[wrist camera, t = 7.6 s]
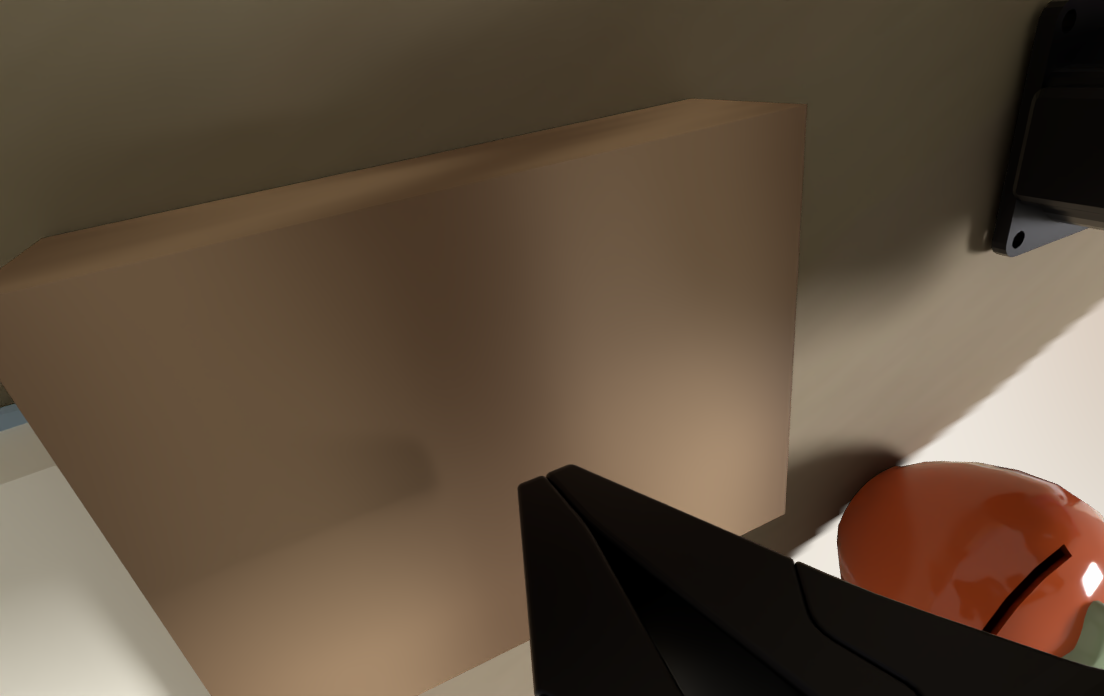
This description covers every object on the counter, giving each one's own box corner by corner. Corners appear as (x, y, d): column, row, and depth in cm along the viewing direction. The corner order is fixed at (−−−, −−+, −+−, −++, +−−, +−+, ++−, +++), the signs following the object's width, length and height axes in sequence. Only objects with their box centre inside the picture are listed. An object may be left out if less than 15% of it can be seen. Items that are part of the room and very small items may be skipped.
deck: (690, 98, 12) (807, 104, 9) (701, 443, 16) (785, 513, 13) (42, 238, 8) (-51, 305, 6) (262, 631, 12) (262, 771, 10)
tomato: (907, 381, 19) (1270, 552, 12) (978, 469, 23) (1277, 633, 16) (758, 566, 19) (1026, 829, 12) (853, 619, 23) (1093, 838, 16)
